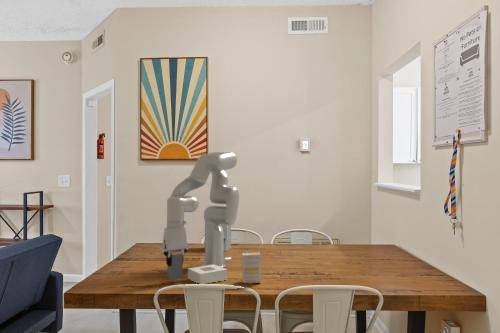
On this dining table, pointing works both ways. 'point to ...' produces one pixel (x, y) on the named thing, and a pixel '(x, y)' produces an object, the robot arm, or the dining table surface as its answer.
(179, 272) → the grey cylinder
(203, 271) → the socket block
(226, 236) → the hard drive box
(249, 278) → the supplement box
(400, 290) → the dining table surface
